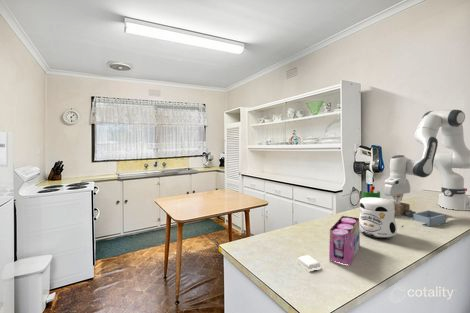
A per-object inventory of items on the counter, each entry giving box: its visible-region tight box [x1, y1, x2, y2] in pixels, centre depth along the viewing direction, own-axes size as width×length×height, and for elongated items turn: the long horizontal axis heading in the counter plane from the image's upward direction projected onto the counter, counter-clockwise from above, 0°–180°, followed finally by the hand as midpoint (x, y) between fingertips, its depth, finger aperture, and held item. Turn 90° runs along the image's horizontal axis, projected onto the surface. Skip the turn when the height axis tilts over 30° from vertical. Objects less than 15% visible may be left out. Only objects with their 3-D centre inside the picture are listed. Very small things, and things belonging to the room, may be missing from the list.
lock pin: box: [395, 194, 402, 205], centre depth 152 cm, size 4×4×12 cm
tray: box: [412, 210, 447, 228], centre depth 136 cm, size 15×9×5 cm, turn 112°
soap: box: [297, 254, 322, 269], centre depth 94 cm, size 9×7×3 cm
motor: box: [361, 185, 381, 199], centre depth 153 cm, size 10×9×20 cm
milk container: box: [358, 197, 398, 239], centre depth 122 cm, size 17×17×18 cm
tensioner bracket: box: [393, 201, 417, 219], centre depth 149 cm, size 12×16×8 cm
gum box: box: [328, 215, 361, 266], centre depth 102 cm, size 24×8×14 cm, turn 142°
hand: (397, 201), depth 152 cm, fingers closed on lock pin, 3 cm apart
